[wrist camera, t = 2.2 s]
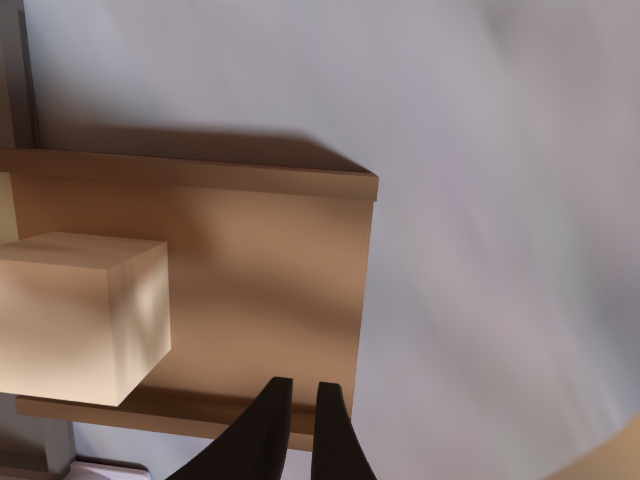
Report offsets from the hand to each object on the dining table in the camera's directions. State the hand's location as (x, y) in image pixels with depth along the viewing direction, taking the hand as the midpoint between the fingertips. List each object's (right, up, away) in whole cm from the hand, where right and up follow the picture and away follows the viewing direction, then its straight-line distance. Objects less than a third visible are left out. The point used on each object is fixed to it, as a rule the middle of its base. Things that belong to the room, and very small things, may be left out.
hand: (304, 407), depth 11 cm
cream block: (-10, +3, +7) cm, 13 cm away
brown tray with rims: (-14, +3, +10) cm, 18 cm away
